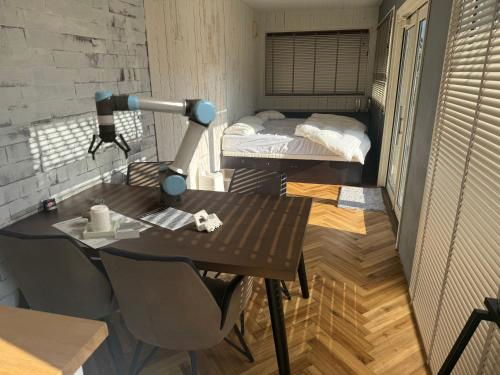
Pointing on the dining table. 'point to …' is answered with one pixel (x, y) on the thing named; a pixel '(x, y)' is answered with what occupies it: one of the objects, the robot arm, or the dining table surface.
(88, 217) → the idler pulley
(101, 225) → the white jar
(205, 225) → the mounting bracket
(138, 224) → the tensioner cradle
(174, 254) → the dining table surface
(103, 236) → the parts tray
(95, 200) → the mechanical component
